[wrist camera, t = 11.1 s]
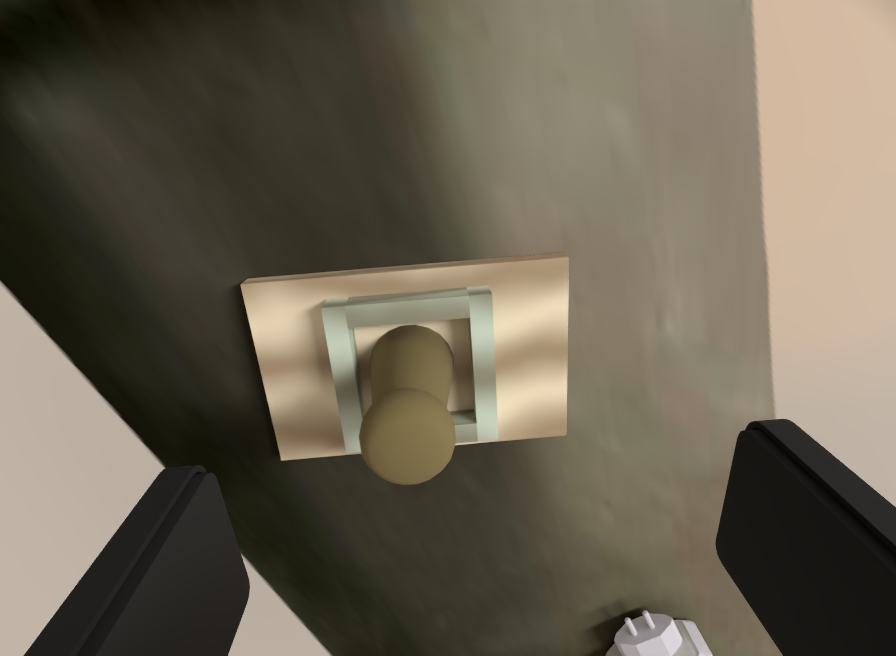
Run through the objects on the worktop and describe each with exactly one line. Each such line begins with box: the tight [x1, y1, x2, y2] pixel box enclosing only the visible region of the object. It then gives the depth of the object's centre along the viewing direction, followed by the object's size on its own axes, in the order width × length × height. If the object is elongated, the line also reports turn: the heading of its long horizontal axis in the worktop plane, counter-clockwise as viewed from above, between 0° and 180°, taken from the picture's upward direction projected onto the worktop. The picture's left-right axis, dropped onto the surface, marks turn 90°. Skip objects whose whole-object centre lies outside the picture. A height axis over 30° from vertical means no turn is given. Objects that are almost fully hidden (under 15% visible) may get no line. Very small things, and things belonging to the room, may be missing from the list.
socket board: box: [240, 253, 569, 460], centre depth 35 cm, size 14×22×4 cm, turn 94°
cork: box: [359, 325, 456, 485], centre depth 30 cm, size 6×6×11 cm
